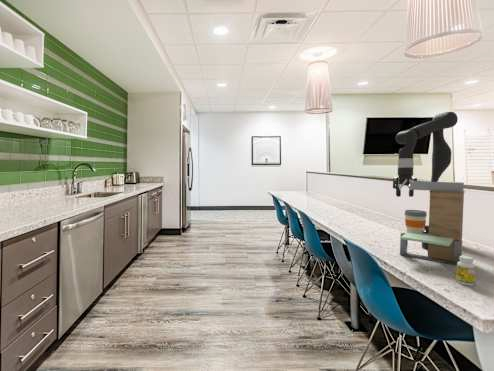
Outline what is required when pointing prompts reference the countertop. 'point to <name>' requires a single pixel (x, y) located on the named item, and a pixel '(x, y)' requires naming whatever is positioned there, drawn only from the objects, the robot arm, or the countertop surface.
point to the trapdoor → (427, 238)
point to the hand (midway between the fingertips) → (404, 196)
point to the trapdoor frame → (456, 257)
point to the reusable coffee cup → (415, 221)
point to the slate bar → (437, 186)
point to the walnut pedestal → (445, 221)
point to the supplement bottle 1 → (426, 231)
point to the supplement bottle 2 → (466, 271)
